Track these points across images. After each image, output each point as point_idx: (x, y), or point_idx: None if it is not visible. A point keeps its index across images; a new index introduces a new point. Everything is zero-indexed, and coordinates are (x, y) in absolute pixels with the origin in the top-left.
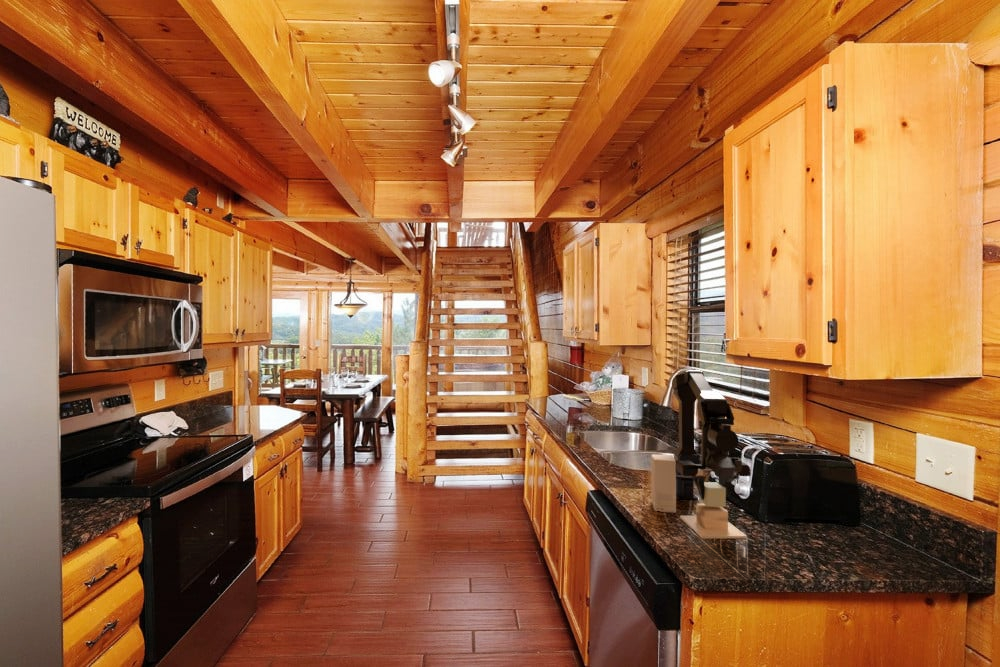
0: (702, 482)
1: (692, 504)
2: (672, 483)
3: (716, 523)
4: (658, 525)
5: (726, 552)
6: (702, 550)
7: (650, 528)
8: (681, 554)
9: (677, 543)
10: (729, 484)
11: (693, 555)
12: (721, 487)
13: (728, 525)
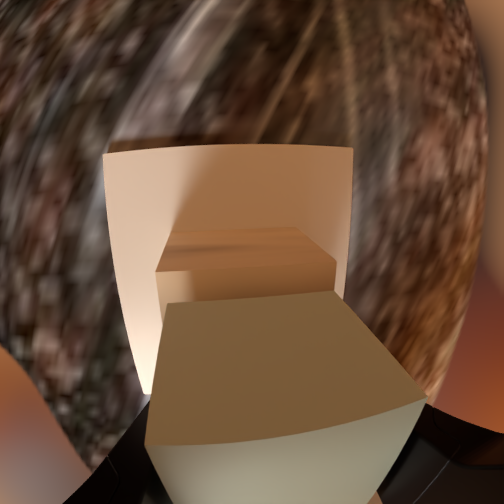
0: (468, 451)
1: None
2: (378, 497)
3: (241, 238)
4: (439, 284)
5: (297, 6)
6: (388, 41)
7: (470, 254)
8: (455, 41)
9: (448, 117)
10: (76, 495)
11: (426, 22)
12: (206, 461)
13: (143, 291)
